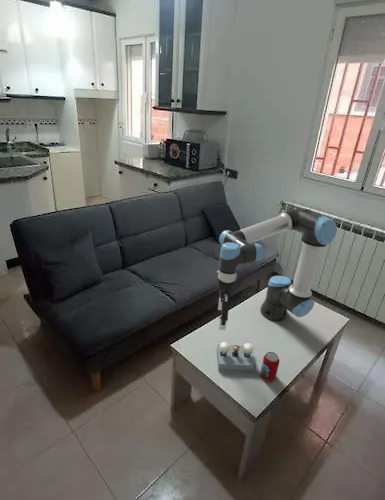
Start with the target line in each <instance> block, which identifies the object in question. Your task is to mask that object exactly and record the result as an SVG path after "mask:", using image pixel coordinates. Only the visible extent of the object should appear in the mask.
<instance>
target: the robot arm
mask: <svg viewBox="0 0 385 500" xmlns="http://www.w3.org/2000/svg"><path fill="white" fill-rule="evenodd" d="M337 228H338V227H337V224H336V222H335V220H333V219H332V218H330V217H329V216H327V215H323V214H321V213H319V212H316V211H313V210H312V209H308V208H294V209H289V210H286V211H283V212H280V213H279V214H278V216H275V217H272V218H269V219H267V220H264V221H261V222H258V223H255V224H253V225H251V226H247V227H244V228H241V229H240V230H236V231H231V230H229V229H227V230H223V231H222V232H221V234H219V238H218V239H219V240H218V241H219V243H220V245H221V248H220V253H219V263H218V264H219V265H218V270H217V271H216V274H217V281H216V286H217V288H218V289H219V291H218V292H219V297H218V305H217V306H218V307H217V310H218V311H220V313H221V314H220V316H219V317H218V319H219V326H218V331H226V329H227V322H228V321H229V307H230V306H229V305H230V298H231V297H230V295H231V291H232V290H234V289H235V287H236V280H237V274H238V273H237V272H238V267H239V266H242V265H246V264H251V263H256V262H259V261H261V260H262V259H263V258H264V253H265V252H264V248H263V246H262V245H261V244H259V243H255V242H258V241H261V240H263V239H267V238H269V237H271V236H274V235H277V234H279V233H281V232H291V231H296V232H298V233H300V234H301V239H300V241H301V243H302V247H301V252H300V256H299V259H298V263H297V266H296V270H295V273H294V274H295V275H294V279H293V282H292V280H291V278H289V277H287V276H285V275H274V276H271V277H270V278H269V281H268V284H267V290H266V295H265V299H264V300H263V303H262V304H261V305H260V314H261V315H262V316H263V317H264V318H266V319H267V320H270V321H273V322H274V321H275V322H280V321H283V320H285V319H286V318H287V317H288V312H290V313H291V314H293V315H294V316H295V317H297V318H302V317H305V316H306V315H308V314H309V313H310V312H311V311H312V309H314V306H315V301H314V300H313V299H311V298H312V295H313V292H312V290H311V286H312V284H313V280H314V277H315V273H316V270H317V267H318V263H319V259H320V257H321V253H322V250H323V248H326V247H327V245H329V244H331V243H332V242H333V240H334V239H335V237H336V235H337V230H338V229H337Z"/></svg>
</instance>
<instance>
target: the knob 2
mask: <svg viewBox="0 0 385 500" xmlns="http://www.w3.org/2000/svg"><path fill="white" fill-rule="evenodd" d="M243 346H244V349H243V350H244V351H245V352H246V355H247V356H249V353H252V354H253V352H254V348H255V347H254V345H253V344H252V343H250V342H249V343H248V342H246V343H244V344H243Z"/></svg>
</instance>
